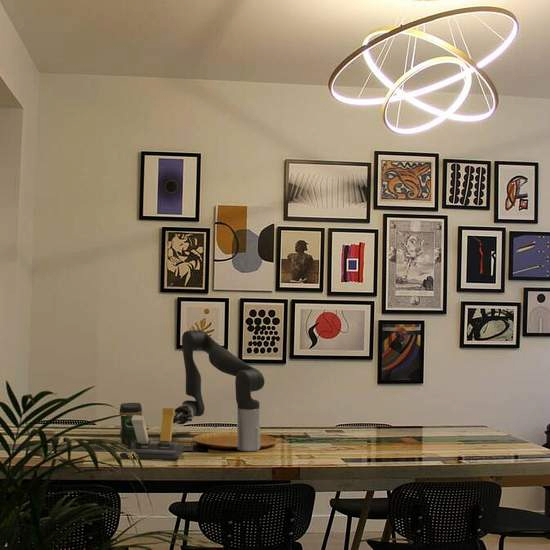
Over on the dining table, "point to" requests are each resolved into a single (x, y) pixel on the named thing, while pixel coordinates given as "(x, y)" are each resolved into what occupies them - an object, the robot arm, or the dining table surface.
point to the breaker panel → (155, 446)
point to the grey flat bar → (152, 454)
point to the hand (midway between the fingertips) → (172, 420)
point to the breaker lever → (166, 427)
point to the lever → (140, 430)
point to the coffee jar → (128, 422)
